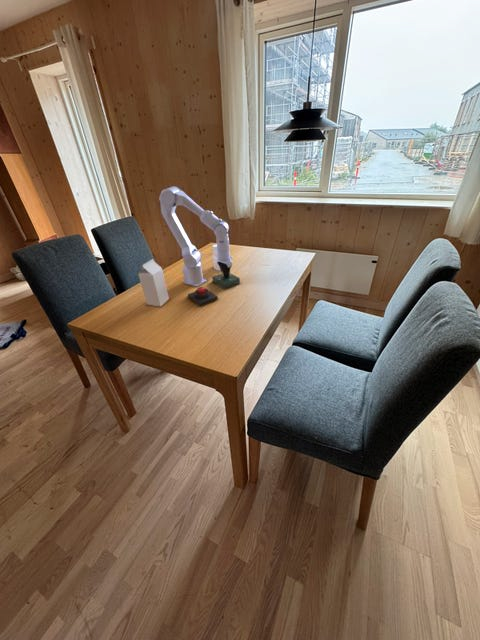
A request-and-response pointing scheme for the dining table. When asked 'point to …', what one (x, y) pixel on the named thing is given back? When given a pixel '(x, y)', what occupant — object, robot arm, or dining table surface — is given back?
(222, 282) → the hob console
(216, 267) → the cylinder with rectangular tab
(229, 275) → the hob knob
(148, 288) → the milk carton
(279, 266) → the dining table surface
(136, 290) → the dining table surface
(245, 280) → the dining table surface
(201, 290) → the button
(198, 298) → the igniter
